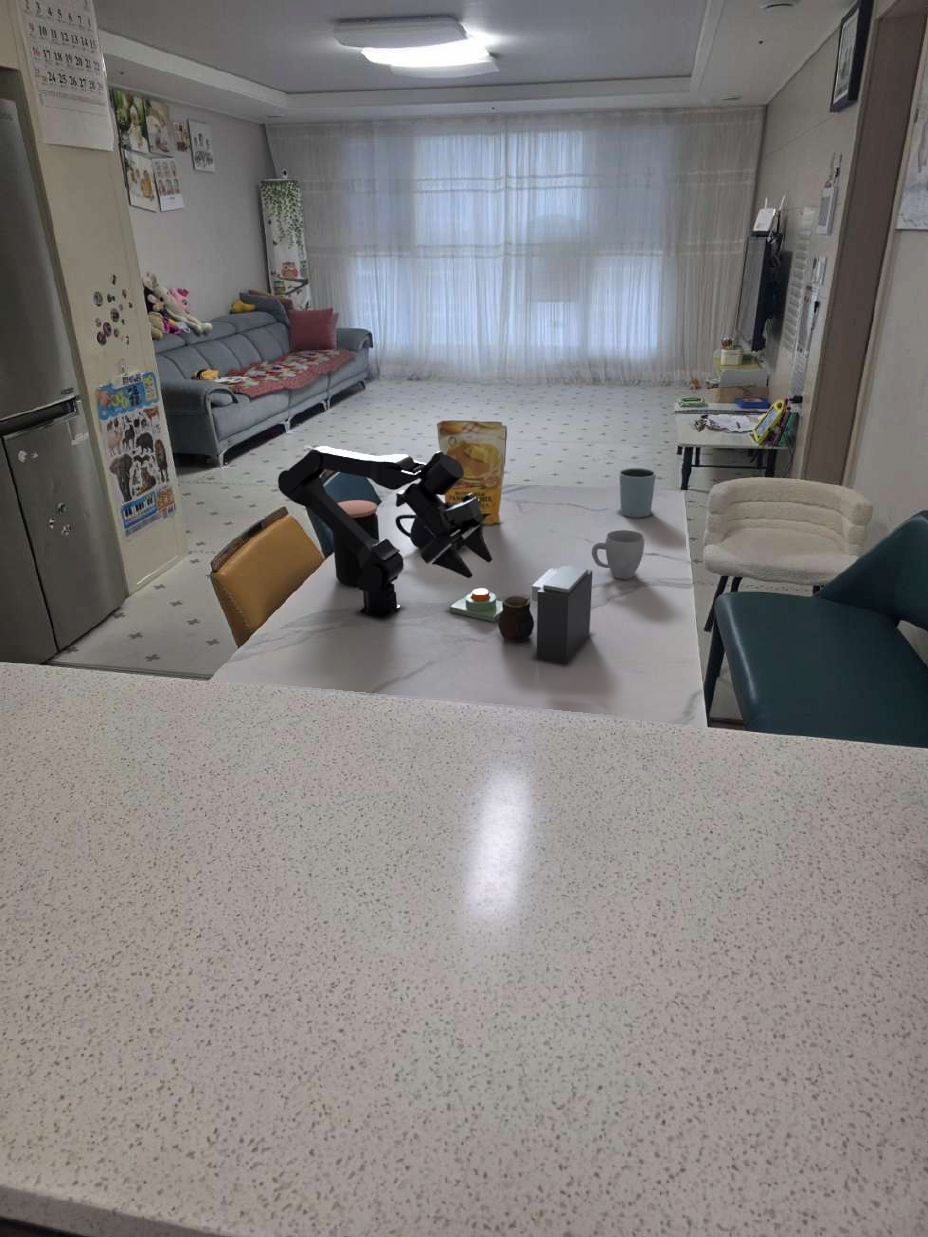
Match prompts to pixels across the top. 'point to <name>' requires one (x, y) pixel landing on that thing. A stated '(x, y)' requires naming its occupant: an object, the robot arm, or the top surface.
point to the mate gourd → (516, 619)
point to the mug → (621, 552)
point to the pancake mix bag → (476, 462)
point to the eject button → (480, 595)
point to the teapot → (422, 532)
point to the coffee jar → (344, 556)
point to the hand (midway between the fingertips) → (481, 569)
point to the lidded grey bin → (562, 612)
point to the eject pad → (478, 607)
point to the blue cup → (636, 491)
